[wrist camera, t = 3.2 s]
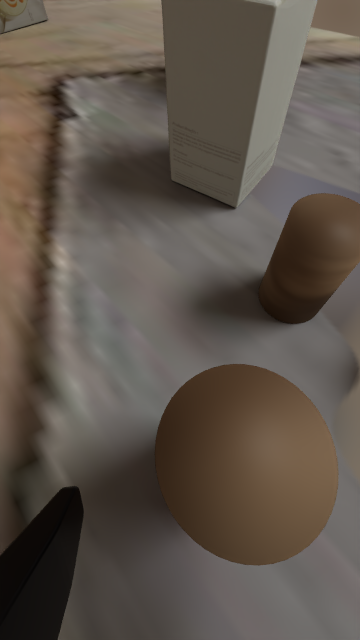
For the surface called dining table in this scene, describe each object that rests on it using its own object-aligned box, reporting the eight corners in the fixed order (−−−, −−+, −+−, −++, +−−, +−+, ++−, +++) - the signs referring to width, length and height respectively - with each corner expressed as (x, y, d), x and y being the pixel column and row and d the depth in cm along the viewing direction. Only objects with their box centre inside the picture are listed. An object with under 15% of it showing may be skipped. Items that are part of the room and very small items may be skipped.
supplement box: (274, 167, 28) (333, -37, 17) (235, 211, 25) (277, 2, 14) (209, 141, 30) (224, -54, 19) (167, 180, 27) (156, -24, 16)
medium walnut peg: (333, 305, 21) (397, 232, 14) (286, 334, 20) (333, 269, 13) (291, 263, 22) (332, 183, 16) (246, 288, 21) (271, 212, 15)
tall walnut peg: (267, 479, 16) (379, 483, 7) (199, 532, 14) (224, 620, 6) (220, 407, 17) (258, 337, 8) (155, 449, 16) (123, 419, 7)
